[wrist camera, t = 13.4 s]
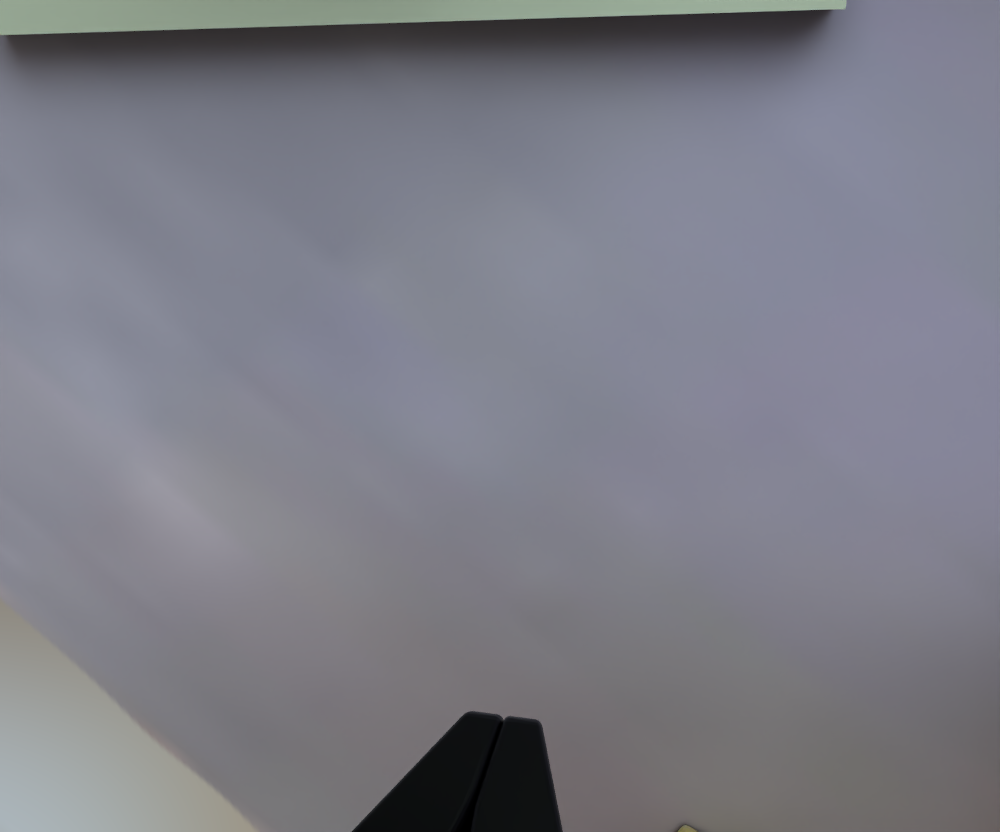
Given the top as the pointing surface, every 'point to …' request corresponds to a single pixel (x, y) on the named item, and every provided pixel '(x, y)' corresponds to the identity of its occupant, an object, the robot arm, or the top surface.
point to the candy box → (686, 829)
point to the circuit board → (339, 12)
